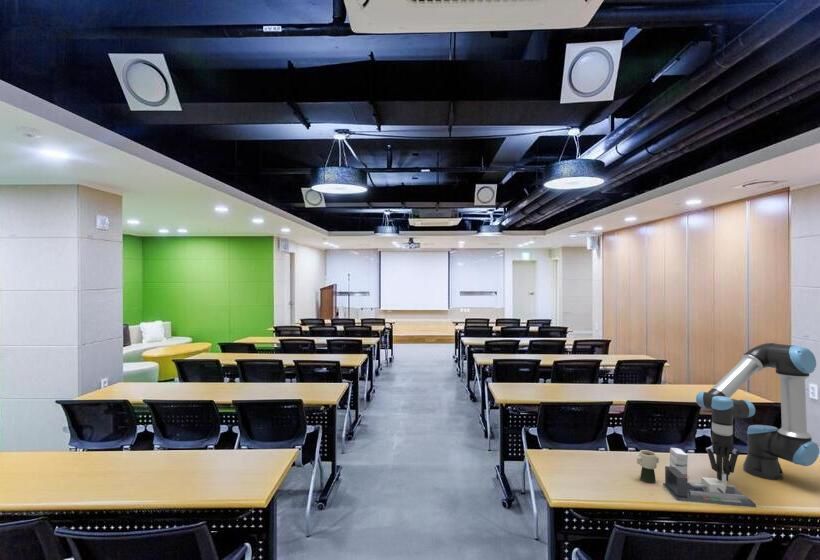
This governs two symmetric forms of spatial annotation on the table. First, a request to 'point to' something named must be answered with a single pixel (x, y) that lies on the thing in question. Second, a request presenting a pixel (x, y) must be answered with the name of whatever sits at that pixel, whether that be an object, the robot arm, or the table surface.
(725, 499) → the gauge bed
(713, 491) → the gauge carriage
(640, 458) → the character mug
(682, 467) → the ink box
